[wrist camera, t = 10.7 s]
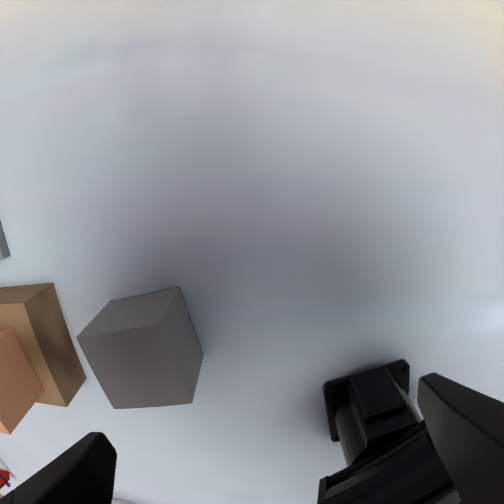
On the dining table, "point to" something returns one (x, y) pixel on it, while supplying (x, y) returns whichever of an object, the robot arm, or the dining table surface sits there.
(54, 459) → the robot arm
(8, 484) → the glasses
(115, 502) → the cup
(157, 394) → the charcoal block
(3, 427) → the terracotta block
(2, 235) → the card
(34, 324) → the walnut block
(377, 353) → the dining table surface
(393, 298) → the dining table surface
